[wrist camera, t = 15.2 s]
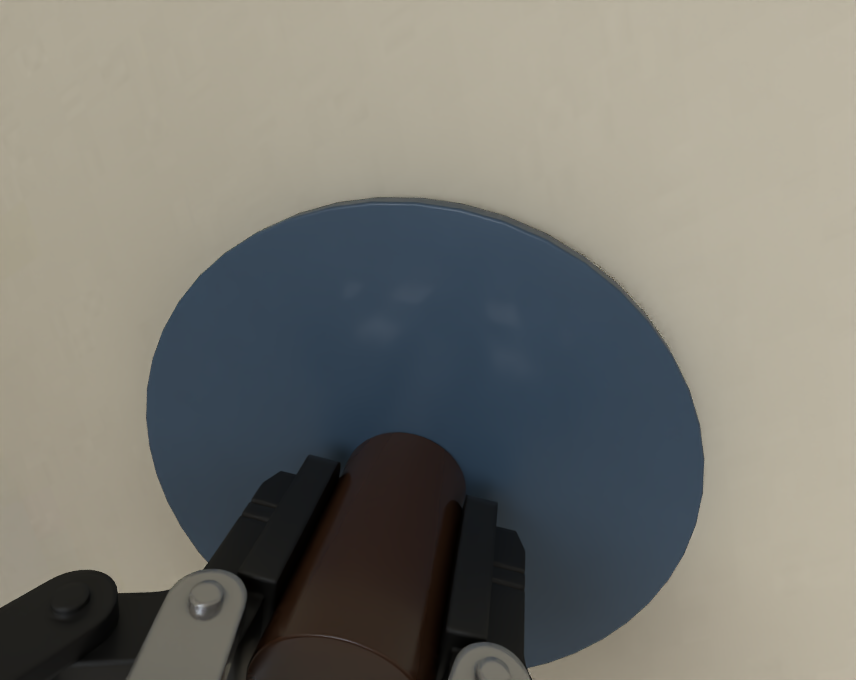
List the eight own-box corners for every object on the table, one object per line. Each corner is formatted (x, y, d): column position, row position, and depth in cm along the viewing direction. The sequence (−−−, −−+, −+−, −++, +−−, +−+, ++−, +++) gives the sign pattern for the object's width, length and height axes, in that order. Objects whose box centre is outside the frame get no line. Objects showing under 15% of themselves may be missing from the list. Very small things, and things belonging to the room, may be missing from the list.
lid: (175, 573, 18) (0, 811, 12) (166, 134, 13) (-170, 176, 7) (593, 688, 17) (627, 1009, 11) (792, 267, 12) (1082, 462, 6)
